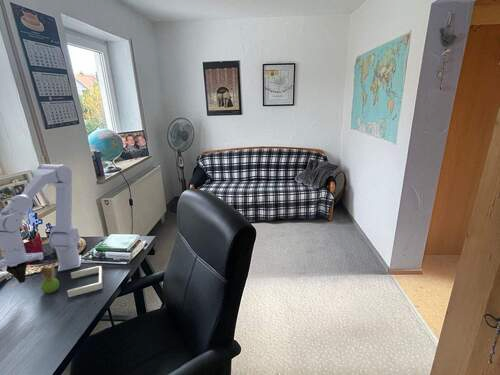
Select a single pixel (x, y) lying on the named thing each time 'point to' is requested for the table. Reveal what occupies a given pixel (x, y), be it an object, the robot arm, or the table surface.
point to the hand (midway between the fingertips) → (22, 281)
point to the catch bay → (89, 287)
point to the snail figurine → (49, 280)
